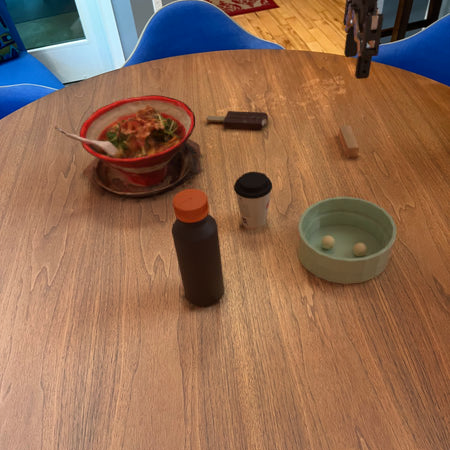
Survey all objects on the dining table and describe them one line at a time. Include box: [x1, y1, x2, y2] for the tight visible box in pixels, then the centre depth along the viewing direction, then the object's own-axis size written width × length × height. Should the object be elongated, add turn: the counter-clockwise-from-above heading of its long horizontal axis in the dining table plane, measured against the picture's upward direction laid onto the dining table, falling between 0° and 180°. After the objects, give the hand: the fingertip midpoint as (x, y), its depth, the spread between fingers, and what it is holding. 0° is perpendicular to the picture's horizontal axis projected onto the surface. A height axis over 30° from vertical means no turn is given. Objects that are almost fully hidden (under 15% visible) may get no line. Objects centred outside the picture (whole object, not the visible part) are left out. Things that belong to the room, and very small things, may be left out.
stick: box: [337, 124, 360, 159], centre depth 106 cm, size 2×9×2 cm, turn 3°
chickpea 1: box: [321, 236, 335, 249], centre depth 85 cm, size 2×2×2 cm
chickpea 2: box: [353, 243, 367, 257], centre depth 83 cm, size 2×2×2 cm
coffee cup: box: [233, 171, 273, 230], centre depth 89 cm, size 7×7×10 cm
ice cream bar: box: [205, 110, 269, 131], centre depth 116 cm, size 5×2×15 cm
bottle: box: [171, 188, 225, 308], centre depth 74 cm, size 7×7×20 cm
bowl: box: [296, 196, 398, 285], centre depth 83 cm, size 16×16×6 cm
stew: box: [54, 94, 202, 200], centre depth 99 cm, size 28×24×16 cm
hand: (355, 66), depth 84 cm, fingers open, 8 cm apart
